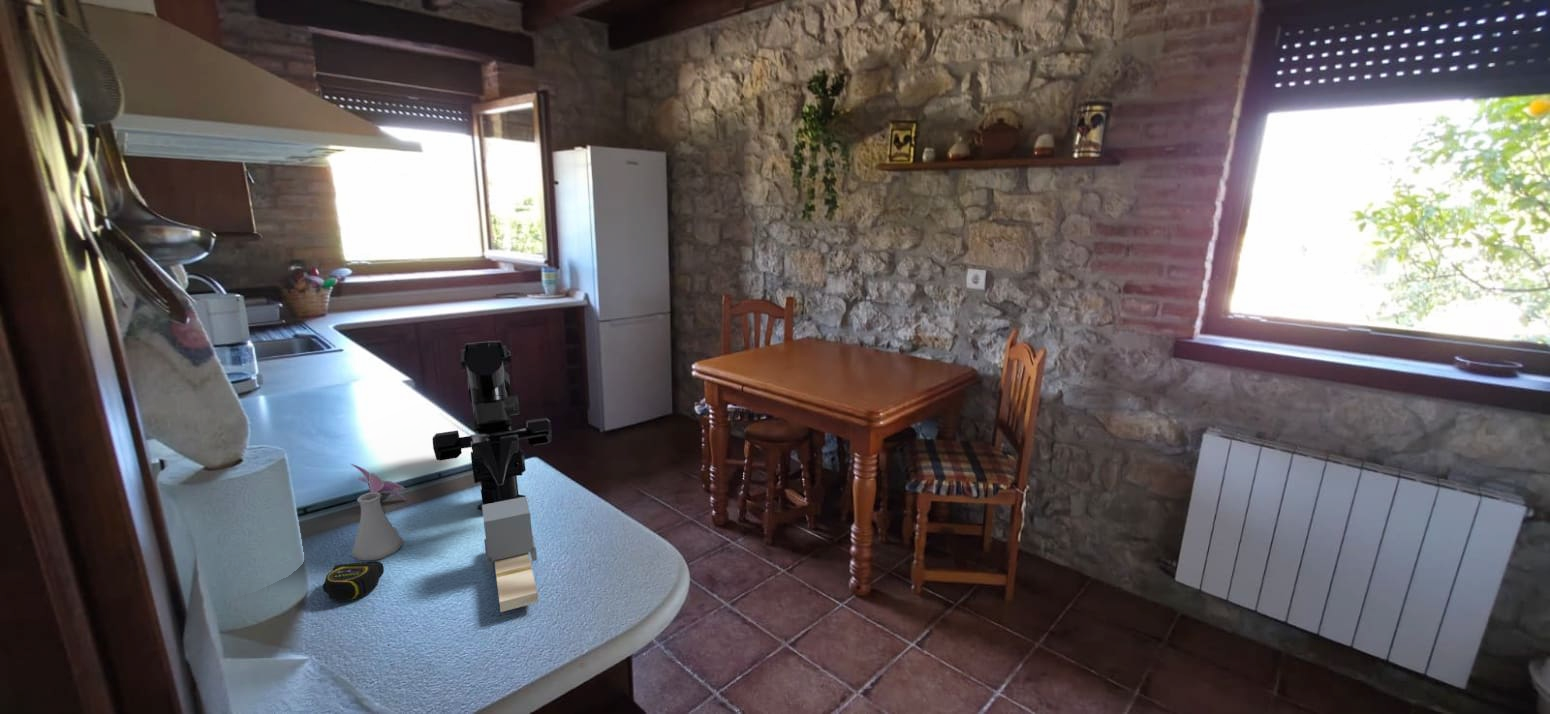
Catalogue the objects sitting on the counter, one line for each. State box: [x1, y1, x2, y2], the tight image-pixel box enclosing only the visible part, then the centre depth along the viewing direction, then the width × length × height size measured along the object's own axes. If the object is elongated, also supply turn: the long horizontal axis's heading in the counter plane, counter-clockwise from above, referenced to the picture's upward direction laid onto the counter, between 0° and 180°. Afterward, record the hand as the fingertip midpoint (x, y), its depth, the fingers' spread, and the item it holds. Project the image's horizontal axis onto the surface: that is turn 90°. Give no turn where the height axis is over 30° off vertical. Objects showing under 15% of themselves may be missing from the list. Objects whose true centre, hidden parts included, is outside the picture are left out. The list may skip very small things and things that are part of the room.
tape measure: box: [322, 560, 385, 602], centre depth 96 cm, size 7×7×4 cm
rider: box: [481, 496, 538, 572], centre depth 101 cm, size 6×7×8 cm
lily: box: [350, 463, 407, 501], centre depth 121 cm, size 11×11×9 cm
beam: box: [493, 552, 539, 613], centre depth 99 cm, size 20×5×3 cm, turn 26°
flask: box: [350, 492, 405, 561], centre depth 106 cm, size 7×7×10 cm
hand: (500, 484), depth 107 cm, fingers closed
